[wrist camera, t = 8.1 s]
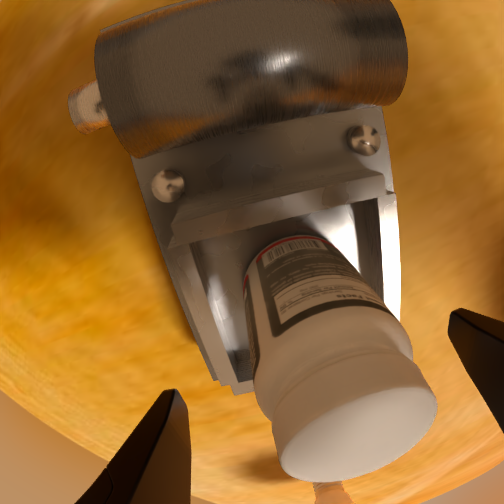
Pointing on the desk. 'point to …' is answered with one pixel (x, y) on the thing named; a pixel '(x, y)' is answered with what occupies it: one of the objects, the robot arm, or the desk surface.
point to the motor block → (254, 143)
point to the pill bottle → (330, 364)
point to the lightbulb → (331, 493)
